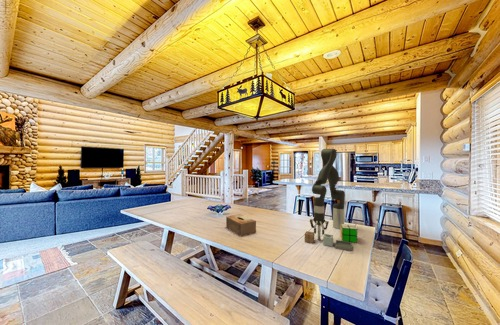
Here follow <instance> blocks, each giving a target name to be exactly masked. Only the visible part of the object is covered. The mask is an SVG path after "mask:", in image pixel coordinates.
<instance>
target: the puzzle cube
mask: <svg viewBox="0 0 500 325" xmlns="http://www.w3.org/2000/svg"><path fill="white" fill-rule="evenodd" d="M339 230H340V232H339V233H340V238H341V239H340V240H341V241H346V242H352V243H356V244H357V243H358V228H357V227H356V225H354V224H345V223H344V224H341V226H340V229H339Z"/></svg>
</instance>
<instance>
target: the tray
mask: <svg viewBox="0 0 500 325" xmlns="http://www.w3.org/2000/svg"><path fill="white" fill-rule="evenodd" d="M352 243H353V242H346V241H342V240H341V239H340V240H338V239H335V246H334V247H335V248H334V249H338V250H343V251H349V252H352V251H353V246H352Z"/></svg>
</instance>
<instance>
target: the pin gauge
mask: <svg viewBox="0 0 500 325" xmlns="http://www.w3.org/2000/svg"><path fill="white" fill-rule="evenodd" d="M321 235H322V227H321V225H317V240H318V241H321Z"/></svg>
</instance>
